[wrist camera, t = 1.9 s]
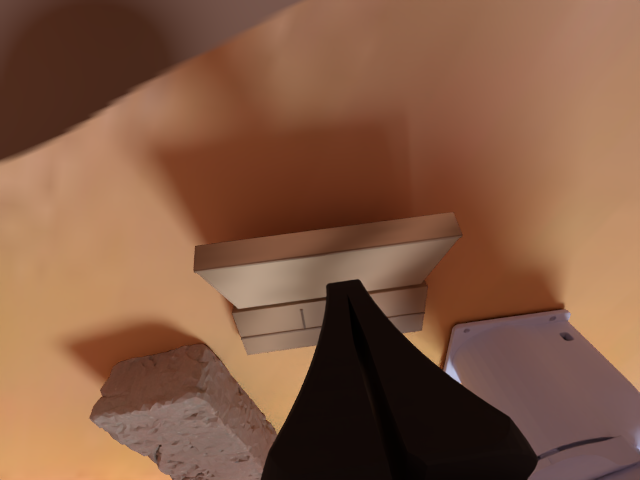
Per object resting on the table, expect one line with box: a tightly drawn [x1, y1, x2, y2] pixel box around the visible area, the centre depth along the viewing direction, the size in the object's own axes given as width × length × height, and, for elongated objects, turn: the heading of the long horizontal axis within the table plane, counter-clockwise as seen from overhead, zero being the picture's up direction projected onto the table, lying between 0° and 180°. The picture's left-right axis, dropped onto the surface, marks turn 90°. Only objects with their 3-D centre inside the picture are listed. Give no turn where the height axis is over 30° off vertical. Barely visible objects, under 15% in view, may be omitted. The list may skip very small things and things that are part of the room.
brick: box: [90, 344, 277, 480], centre depth 25 cm, size 17×8×5 cm, turn 15°
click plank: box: [194, 212, 462, 309], centre depth 17 cm, size 12×7×1 cm, turn 95°
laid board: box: [232, 281, 428, 355], centre depth 21 cm, size 13×4×1 cm, turn 95°
